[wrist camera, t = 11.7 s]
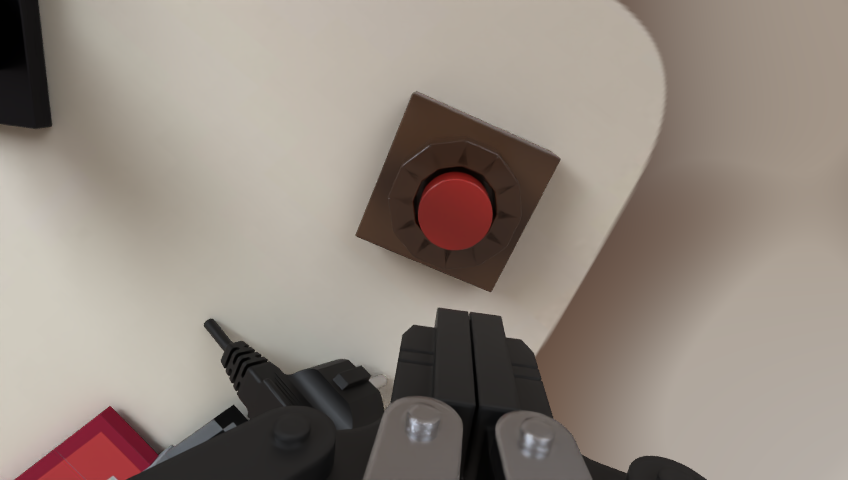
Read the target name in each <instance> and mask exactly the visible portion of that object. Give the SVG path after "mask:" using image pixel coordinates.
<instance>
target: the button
mask: <svg viewBox="0 0 848 480" xmlns="http://www.w3.org/2000/svg"><path fill="white" fill-rule="evenodd" d="M492 217H493V211H492V205H491V202H490V199H489V196H488V193H487V191H486V189H485V187H484V186H483V185H482V183H481V182H480V181H479V180H478V179H476V178H475V177H473V176H471V175H469V174H466V173H463V172H448V173H444V174H441V175H439V176H437V177H436V178H434V179H433V180H432V181H430V182H429V184H428V185H427V186H426V187H425V189H424V191H423V193H422V196H421V199H420V204H419V209H418V221H419V225H420V228H421V230H422V232H423V233H424V235H425V236H426V237H427V239H428V240H429V241H431V242H432V243H433V244H435V245H436V246H438V247H440V248H443V249H447V250H463V249H467V248H470V247H472V246H474V245H476V244H477V243H478V242H480V241H481V240H482V239H483V238H484V237H485V235H486V234H487V232H488V231H489V229H490V226H491V223H492Z"/></svg>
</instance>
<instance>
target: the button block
mask: <svg viewBox="0 0 848 480" xmlns="http://www.w3.org/2000/svg"><path fill="white" fill-rule="evenodd" d="M559 161H560V158H559V157H558V156H557V155H555V154H554V153H553V152H551V151H549V150H547V149H545V148H542V147H540V146H538V145H536V144H534V143H531V142H529V141H527V140H525V139H522V138H520V137H518V136H516V135H513V134H511V133H509V132H507V131H504V130H502V129H500V128H498V127H495V126H493V125H491V124H489V123H487V122H484V121H482V120H480V119H478V118H475V117H473V116H471V115H469V114H466V113H464V112H462V111H460V110H457V109H455V108H453V107H451V106H448V105H446V104H444V103H442V102H440V101H437V100H435V99H433V98H431V97H428V96H426V95H424V94H422V93H419V92H417V91H416V92H414V93H413V94H412V96H411V98H410V101H409V103H408V106H407V108H406V111H405V113H404V116H403V118H402V121H401V123H400V126H399V128H398V131H397V133H396V136H395V138H394V141H393V143H392V146H391V148H390V151H389V153H388V156H387V158H386V161H385V163H384V165H383V168H382V170H381V173H380V175H379V178H378V180H377V183H376V185H375V188H374V190H373V193H372V195H371V198H370V200H369V203H368V205H367V208H366V210H365V213H364V215H363V218H362V220H361V223H360V225H359V228H358V230H357V233H356V236H357V237H359V238H361V239H364V240H366V241H369V242H371V243H373V244H376V245H378V246H381V247H383V248H385V249H388V250H390V251H393V252H395V253H397V254H400V255H402V256H405V257H407V258H409V259H412V260H414V261H417V262H419V263H421V264H424V265H426V266H429V267H431V268H434V269H436V270H438V271H441V272H443V273H446V274H448V275H450V276H453V277H455V278H458V279H460V280H462V281H465V282H467V283H470V284H472V285H474V286H477V287H479V288H482V289H484V290H486V291H489V292H492V290H493V288H494V286H495V284H496V282H497V280H498V278H499V276H500V275H501V273H502V271H503V269H504V267H505V265H506V263H507V261H508V259H509V257H510V255H511V253H512V252H513V250H514V248H515V246H516V244H517V242H518V240H519V238H520V236H521V234H522V232H523V230H524V229H525V227H526V225H527V223H528V221H529V219H530V217H531V215H532V213H533V211H534V209H535V207H536V206H537V204H538V202H539V200H540V198H541V196H542V194H543V192H544V190H545V188H546V186H547V184H548V183H549V181H550V179H551V177H552V175H553V173H554V171H555V169H556V167H557V165H558V163H559ZM448 172H463V173H466V174H469V175H471V176H473V177H475V178H476V179H478V180H479V181H480V182H481V183H482V185H483V186H484V187H485V189H486V191H487V193H488V196H489V199H490V202H491V205H492V211H493V217H492V223H491V226H490V229H489V231H488V232H487V234H486V235H485V237H484V238H483V239H482V240H481V241H480V242H478V243H477V244H476V245H474V246H472V247H470V248H467V249H463V250H447V249H443V248H440V247H438V246H436V245H435V244H433V243H432V242H431V241H429V240H428V239H427V237H426V236H425V235H424V233H423V232H422V230H421V228H420V225H419V221H418V209H419V204H420V199H421V196H422V193H423V191H424V189H425V187H426V186H427V185H428V184H429V182H430V181H432V180H433V179H434V178H436V177H437V176H439V175H441V174H444V173H448Z"/></svg>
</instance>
